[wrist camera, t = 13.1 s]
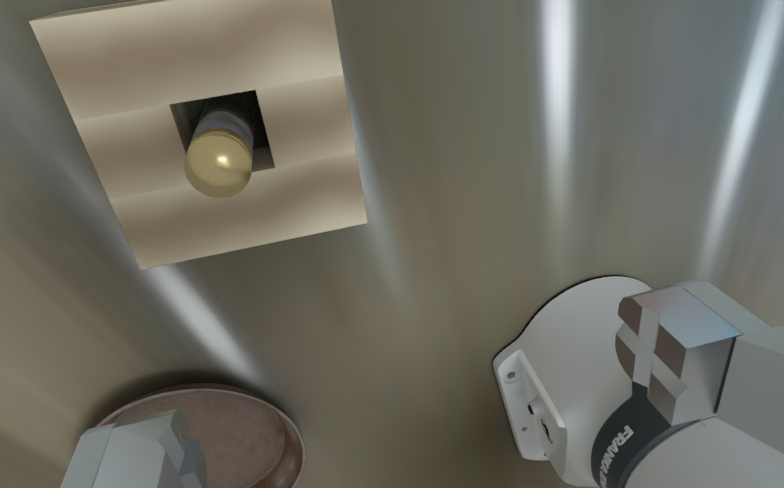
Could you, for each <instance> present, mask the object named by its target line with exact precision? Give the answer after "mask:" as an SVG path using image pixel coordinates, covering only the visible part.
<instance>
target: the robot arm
mask: <svg viewBox="0 0 784 488" xmlns="http://www.w3.org/2000/svg"><path fill="white" fill-rule="evenodd" d="M493 368H494V371H495V375H496V378H497V381H498V385H499V388H500V392H501V395H502V398H503V402H504V405H505V408H506V412H507V415H508V418H509V422H510V425H511V428H512V432H513V435H514V438H515V442H516V445H517V448H518V450H519V452H520V454H521V455H522V457H523V458H525V459H530V460H550V462H551V464H552V465H553V467H554V469H555V470H556V472H557V474H558V475H559V477H560V478H561V479H562V480H563V481H564V482H566V483H568V484H570V485H574V486H582V487H599V488H784V327H781V326H777V327H773V328H771V327H770V326H768V325H767V324H766V323H764V322H763V321H761V320H760V319H759V318H757V317H756V316H755V315H753V314H752V313H751V312H749V311H748V310H746V309H745V308H744V307H742V306H741V305H740V304H738V303H737V302H736V301H734V300H733V299H731V298H730V297H729V296H727V295H726V294H725V293H723V292H722V291H721V290H719V289H718V288H716V287H715V286H714V285H712V284H711V283H710V282H708V281H707V280H704V279H701V278H694V279H691V280H687V281H683V282H679V283H676V284H673V285H671V286H665V287H661V288H658V289H654V290H652V289H651V288H650V287H649V286H647V285H646V284H644V283H643V282H641V281H639V280H636V279H633V278H629V277H620V276H613V277H603V278H598V279H594V280H590V281H587V282H584V283H582V284H579V285H577V286H575V287H573V288H571V289H569V290H567V291H565V292H564V293H562V294H560V295H559V296H557V297H556V298H555V299H553V300H552V301H551V302H549V303H548V304H547V305H546V306H545V307H544V308H543V309H542V310H541V311H540V312H539V313H538V314H537V315H536V316H535V317H534V318H533V320H532V321H531V322H530V324H529V325H528V326H527V328H526V329H525V331H524V332H523V333H522V335H521V336H520V337H519V338H518V339H517V340H516V341H515V342H513V343H512V344H511V345H509V346H508V347H507V348H505V349H504V350H503V351H502V352H501V353H499V354H498V355H497V357H496V358H495V359H494V361H493ZM189 425H190V422H189V421H188V419H187V417H186V415H185V413H184V411H183V410H181V409H173V410H168V411H164V412H159V413H155V414H150V415H146V416H142V417H137V418H133V419H128V420H124V421H119V422H118V423H114V424H109V425H105V426H100V427H95V428H91V429H88V430H87V431H85V432H84V433H83V434H82V435H81V437H80V439H79V441H78V444H77V446H76V449H75V451H74V454H73V456H72V459H71V461H70V464H69V466H68V469H67V471H66V474H65V476H64V479H63V481H62V484H61V486H60V488H207V481H208V479H207V466H206V460H205V456H204V452H203V449H202V447H201V445H200V443H199V441H198V440H197V439H194V438H192V437H190V436H188V431H189Z"/></svg>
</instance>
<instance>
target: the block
mask: <svg viewBox="0 0 784 488" xmlns="http://www.w3.org/2000/svg"><path fill="white" fill-rule="evenodd" d="M29 22H30V24H31V27H32V29H33V31H34V33H35V36H36V38H37V40H38V42H39V45H40V47H41V49H42V51H43V53H44V56H45V58H46V60H47V62H48V65H49V67H50V69H51V71H52V74H53V76H54V78H55V80H56V83H57V85H58V87H59V89H60V91H61V94H62V96H63V98H64V100H65V103H66V105H67V107H68V109H69V112H70V114H71V116H72V118H73V121H74V123H75V125H76V127H77V129H78V132H79V134H80V136H81V138H82V141H83V143H84V145H85V147H86V150H87V152H88V154H89V156H90V159H91V161H92V163H93V165H94V168H95V170H96V172H97V174H98V176H99V179H100V181H101V183H102V185H103V188H104V190H105V192H106V194H107V197H108V199H109V201H110V203H111V206H112V208H113V210H114V212H115V214H116V217H117V219H118V221H119V223H120V226H121V228H122V230H123V232H124V235H125V237H126V239H127V241H128V244H129V246H130V248H131V250H132V252H133V255H134V257H135V259H136V261H137V264H138V266H139V268H140V270H143V269H148V268H153V267H158V266H163V265H167V264H172V263H177V262H182V261H187V260H191V259H196V258H201V257H206V256H211V255H216V254H220V253H225V252H230V251H235V250H240V249H244V248H249V247H254V246H259V245H264V244H269V243H273V242H278V241H283V240H288V239H293V238H297V237H302V236H307V235H312V234H317V233H322V232H326V231H331V230H336V229H341V228H346V227H350V226H355V225H360V224H365V223H367V217H366V210H365V204H364V198H363V192H362V186H361V180H360V174H359V168H358V161H357V155H356V149H355V143H354V137H353V131H352V125H351V118H350V112H349V106H348V100H347V94H346V88H345V82H344V76H343V69H342V63H341V57H340V51H339V45H338V39H337V33H336V27H335V20H334V14H333V8H332V2H331V0H136V1H129V2H122V3H115V4H108V5H102V6H95V7H88V8H81V9H74V10H67V11H61V12H56V13H53V14H50V15H47V16H44V17H41V18H38V19H35V20H32V21H29ZM251 90H256V94H257V98H258V101H259V105H260V109H261V113H262V117H263V121H264V125H265V129H266V133H267V137H268V141H269V145H270V146H268V147H262V148H257V149H253V156H252V172H251V178H250V180H249V182H248V184H247V186H246V187H245V188H244V189H243V190H242V191H241V192H239V193H238V194H236V195H233V196H231V197H226V198H214V197H210V196H207V195H205V194H202V193H201V192H199V191H198V190H196V189H195V188H194V187H193V186H192V185H191V184H190V182H189V181H188V179H187V177H186V175H185V171H184V160H185V156H186V154H187V151H188V148H189V146H190V143H191V140H192V138H193V135H194V130H193V127H192V124H191V120H190V117H189V114H188V111H187V108H186V105H185V102H187V101H193V100H199V99H205V98H210V97H216V96H222V95H228V94H234V93H239V92H245V91H251Z"/></svg>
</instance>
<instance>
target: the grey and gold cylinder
mask: <svg viewBox="0 0 784 488" xmlns="http://www.w3.org/2000/svg"><path fill="white" fill-rule="evenodd" d="M254 121H255V113H254V109H253V107H252V105H251V103H250V102H249V100H248V99H247V98H246V97H245V96H243V95H242V94H240V93H234V94H228V95H222V96H216V97H210V98H208V100H207V101H206V103H205V106H204V108H203V111H202V114H201V116H200V119H199V122H198V124H197V127H196V130H195V132H194V135H193V138H192V140H191V143H190V146H189V148H188V151H187V154H186V156H185V160H184V171H185V175H186V177H187V179H188V181H189V182H190V184H191V185H192V186H193V187H194V188H195V189H196V190H198V191H199V192H201V193H202V194H205V195H207V196H210V197H214V198H226V197H231V196H233V195H236V194H238V193H239V192H241V191H242V190H243V189H244V188H245V187H246V186H247V184H248V182H249V180H250V178H251V172H252V156H253V138H254Z"/></svg>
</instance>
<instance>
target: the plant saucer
mask: <svg viewBox="0 0 784 488" xmlns="http://www.w3.org/2000/svg"><path fill="white" fill-rule="evenodd" d="M173 409H181V410H183V411H184V413H185V415H186V417H187V419H188V421H189V422H190V425H189V431H188V436H190V437H192V438H194V439H197V440H198V441H199V443H200V445H201V447H202V449H203V452H204V456H205V460H206V466H207V479H208V481H207V488H294V486H295V485H296V483H297V482H298V480H299V478H300V476H301V474H302V471H303V467H304V463H305V446H304V442H303V439H302V436H301V434H300V432H299V430H298V429H297V427H296V426H295V424H294V423H293V422H292V421H291V420H290V418H289V417H288V416H287V415H286V414H285V413H284V412H283V411H281V410H280V409H279V408H278V407H277V406H275V405H274V404H272V403H271V402H269V401H268V400H266V399H265V398H263V397H261V396H259V395H257V394H255V393H252V392H250V391H247V390H244V389H241V388H238V387H234V386H229V385H224V384H216V383H189V384H181V385H175V386H171V387H166V388H162V389H159V390H156V391H153V392H150V393H147V394H145V395H143V396H140V397H138V398H136V399H134V400H132V401H130V402H128V403H127V404H125V405H123V406H121V407H120V408H118V409H117V410H115V411H114V412H112V413H111V414H110V415H108V416H107V417H106V418H104V419H103V420H102V421H101V422H100V423H99V424H97V425H96V426H95V427H100V426H105V425H109V424H114V423H118V422H119V421H124V420H128V419H133V418H137V417H142V416H146V415H150V414H155V413H159V412H164V411H168V410H173ZM95 427H94V428H95Z"/></svg>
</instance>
